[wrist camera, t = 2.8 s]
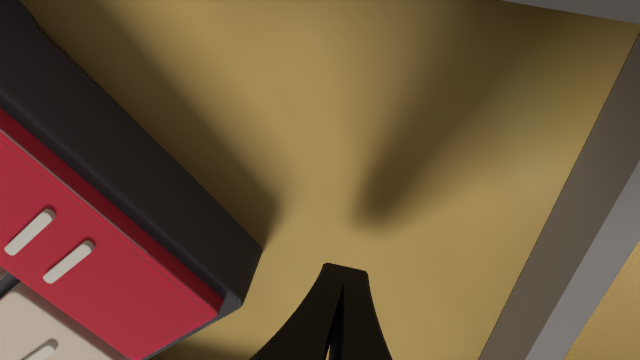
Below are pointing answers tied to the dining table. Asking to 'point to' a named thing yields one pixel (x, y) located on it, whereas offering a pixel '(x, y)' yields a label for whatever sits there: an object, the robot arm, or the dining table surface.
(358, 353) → the robot arm
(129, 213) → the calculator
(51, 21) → the dining table surface
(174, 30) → the dining table surface
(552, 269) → the grey piece
